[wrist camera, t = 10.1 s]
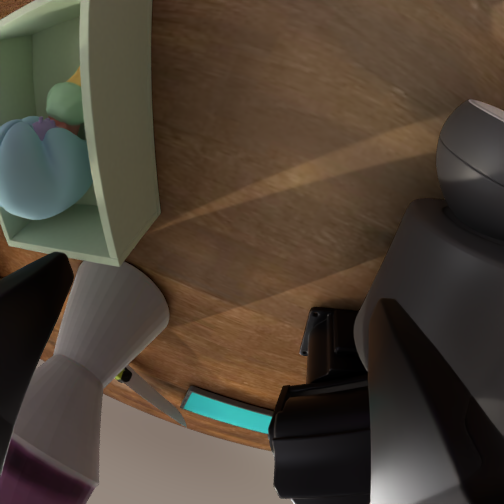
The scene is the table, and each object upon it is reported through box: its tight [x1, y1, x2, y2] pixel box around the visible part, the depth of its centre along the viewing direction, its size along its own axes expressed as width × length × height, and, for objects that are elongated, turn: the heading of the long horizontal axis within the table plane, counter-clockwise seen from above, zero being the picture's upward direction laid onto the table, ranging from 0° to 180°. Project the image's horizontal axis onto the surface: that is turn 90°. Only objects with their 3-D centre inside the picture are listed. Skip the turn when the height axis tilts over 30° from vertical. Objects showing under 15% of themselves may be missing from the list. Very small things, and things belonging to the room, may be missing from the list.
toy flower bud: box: [0, 66, 93, 220], centre depth 14 cm, size 7×9×12 cm
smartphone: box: [180, 386, 274, 434], centre depth 39 cm, size 7×1×15 cm
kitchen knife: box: [115, 365, 187, 427], centre depth 36 cm, size 22×1×3 cm, turn 32°
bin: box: [0, 0, 161, 267], centre depth 15 cm, size 16×11×7 cm
